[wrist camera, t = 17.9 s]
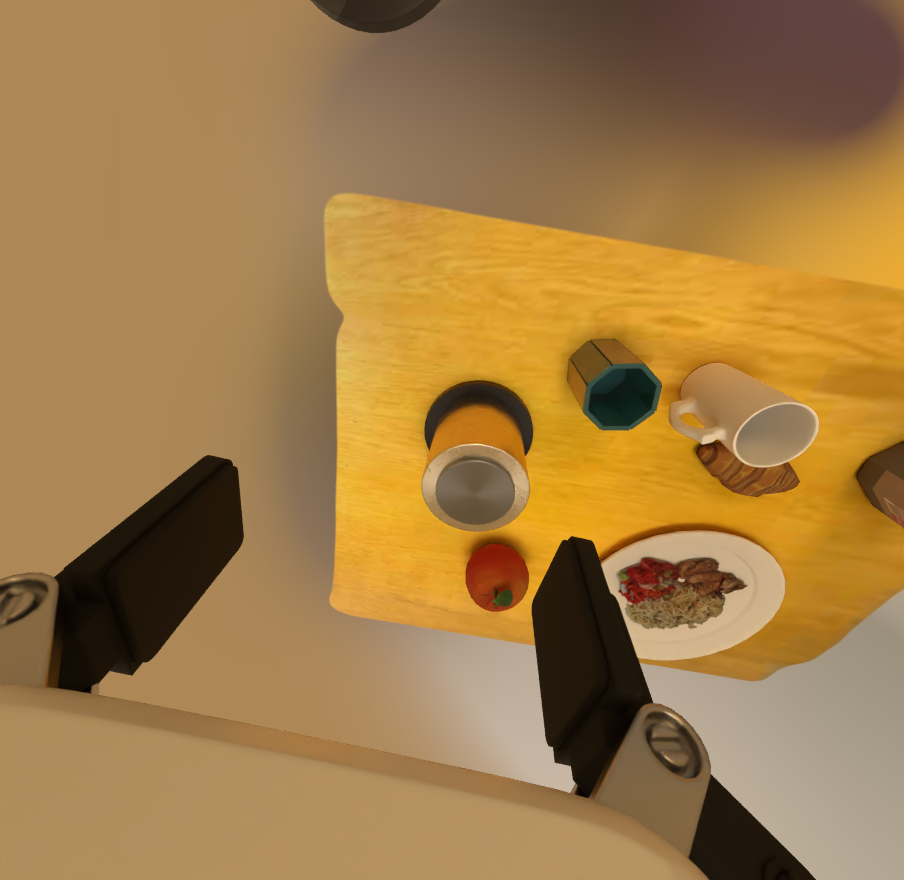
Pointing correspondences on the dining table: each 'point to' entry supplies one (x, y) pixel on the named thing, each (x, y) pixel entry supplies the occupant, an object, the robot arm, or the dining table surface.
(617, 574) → the plated food
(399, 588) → the dining table surface
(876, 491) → the liquor
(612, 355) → the teal cup
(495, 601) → the fruit
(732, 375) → the mug
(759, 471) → the croissant
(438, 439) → the towel holder
